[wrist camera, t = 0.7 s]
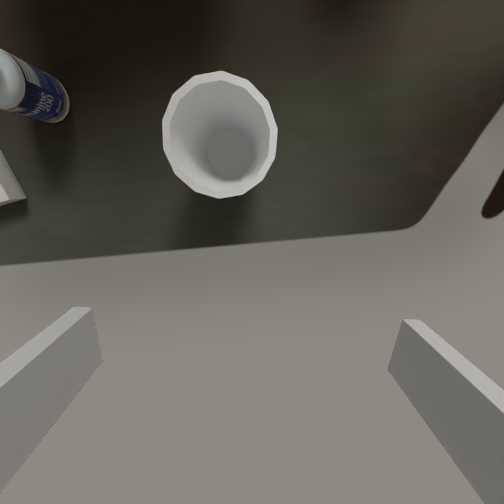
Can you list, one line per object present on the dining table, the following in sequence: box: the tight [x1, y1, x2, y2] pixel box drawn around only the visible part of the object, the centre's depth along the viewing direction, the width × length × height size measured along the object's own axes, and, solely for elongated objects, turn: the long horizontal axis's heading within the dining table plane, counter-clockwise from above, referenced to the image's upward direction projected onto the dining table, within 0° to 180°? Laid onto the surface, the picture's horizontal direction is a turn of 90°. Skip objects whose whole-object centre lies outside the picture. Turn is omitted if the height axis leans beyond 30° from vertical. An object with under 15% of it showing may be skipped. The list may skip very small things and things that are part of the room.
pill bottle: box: [0, 48, 70, 123], centre depth 25 cm, size 5×5×10 cm
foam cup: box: [162, 71, 278, 199], centre depth 25 cm, size 10×9×13 cm
